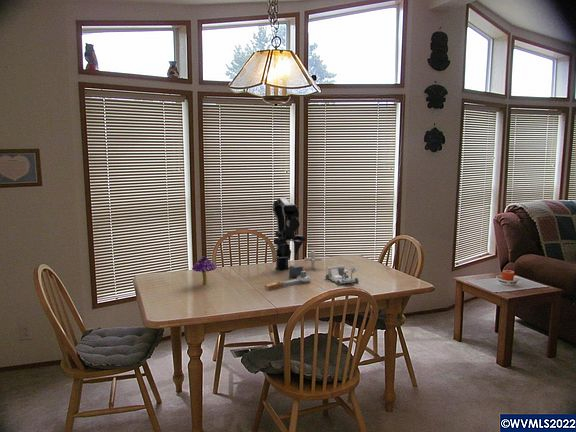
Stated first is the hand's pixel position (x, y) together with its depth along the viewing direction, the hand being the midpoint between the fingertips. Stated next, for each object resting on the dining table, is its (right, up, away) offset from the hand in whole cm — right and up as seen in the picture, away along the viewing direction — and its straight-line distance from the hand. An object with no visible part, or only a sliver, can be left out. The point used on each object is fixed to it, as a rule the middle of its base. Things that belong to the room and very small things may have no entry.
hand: (289, 255), depth 251 cm
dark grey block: (+3, -12, +2) cm, 13 cm away
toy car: (+28, -14, -8) cm, 33 cm away
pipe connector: (+14, -10, +22) cm, 28 cm away
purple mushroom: (-45, -15, -13) cm, 49 cm away
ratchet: (-1, -14, -14) cm, 20 cm away
